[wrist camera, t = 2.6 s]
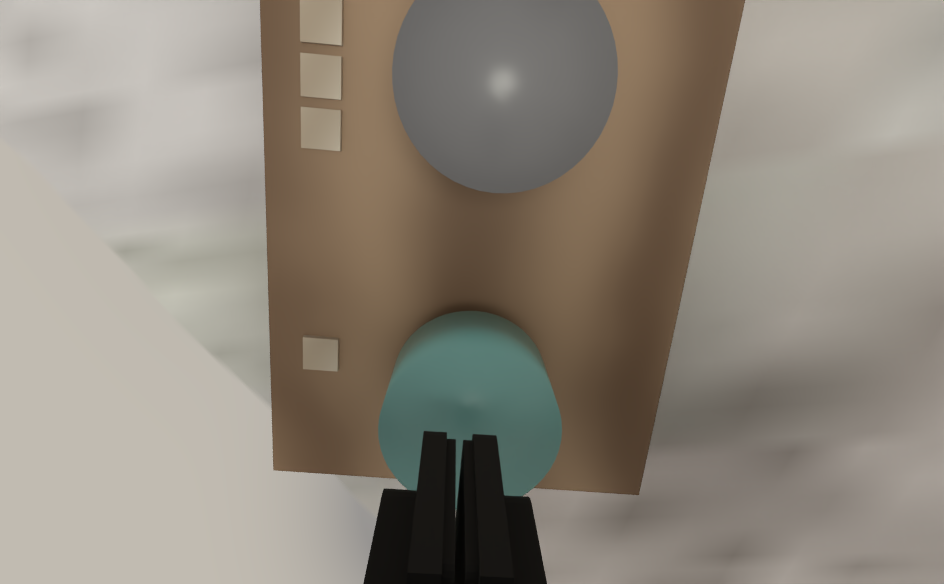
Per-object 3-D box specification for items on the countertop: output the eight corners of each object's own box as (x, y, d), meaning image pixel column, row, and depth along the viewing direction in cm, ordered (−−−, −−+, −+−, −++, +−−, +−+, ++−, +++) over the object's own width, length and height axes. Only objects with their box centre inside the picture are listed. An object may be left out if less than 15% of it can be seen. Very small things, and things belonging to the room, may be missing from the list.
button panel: (782, -400, 15) (864, -537, 12) (617, 449, 23) (640, 498, 20) (287, -463, 14) (238, -624, 11) (298, 427, 23) (271, 473, 20)
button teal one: (555, 317, 16) (574, 356, 14) (535, 454, 18) (549, 515, 15) (396, 304, 16) (381, 341, 13) (390, 443, 18) (374, 504, 15)
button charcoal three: (601, -3, 14) (636, -38, 11) (574, 188, 15) (598, 202, 12) (411, -22, 14) (397, -63, 11) (402, 173, 15) (387, 183, 12)
